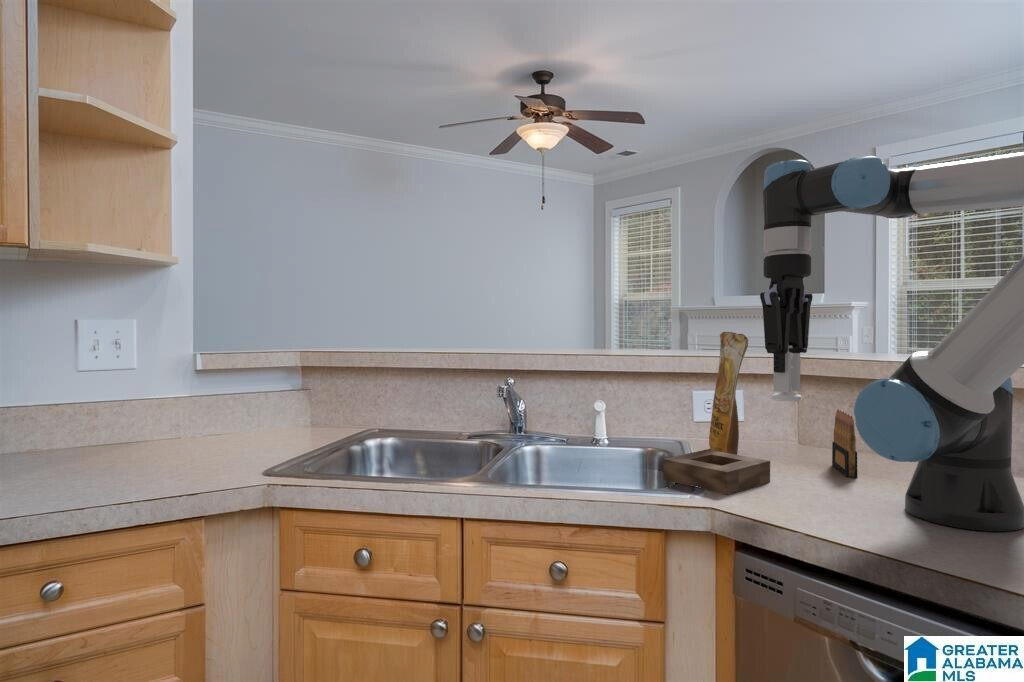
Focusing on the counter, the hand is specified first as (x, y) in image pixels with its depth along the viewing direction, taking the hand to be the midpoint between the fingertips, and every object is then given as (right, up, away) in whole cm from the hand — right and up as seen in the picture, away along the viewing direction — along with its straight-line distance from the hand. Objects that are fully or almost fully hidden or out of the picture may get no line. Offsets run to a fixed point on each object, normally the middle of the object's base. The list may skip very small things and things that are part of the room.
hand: (786, 390), depth 108 cm
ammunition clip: (+19, -18, +18) cm, 32 cm away
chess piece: (0, -2, 0) cm, 2 cm away
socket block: (-8, -18, +12) cm, 23 cm away
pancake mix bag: (+2, -18, +36) cm, 40 cm away
